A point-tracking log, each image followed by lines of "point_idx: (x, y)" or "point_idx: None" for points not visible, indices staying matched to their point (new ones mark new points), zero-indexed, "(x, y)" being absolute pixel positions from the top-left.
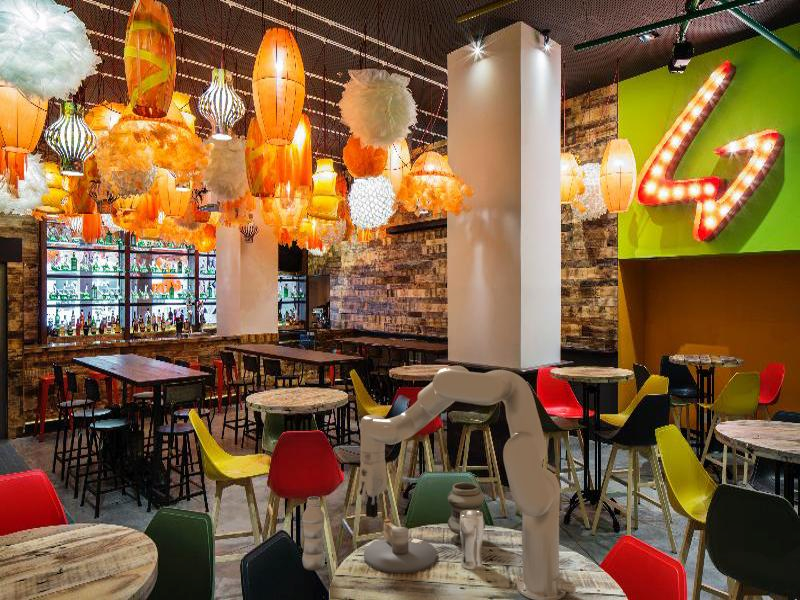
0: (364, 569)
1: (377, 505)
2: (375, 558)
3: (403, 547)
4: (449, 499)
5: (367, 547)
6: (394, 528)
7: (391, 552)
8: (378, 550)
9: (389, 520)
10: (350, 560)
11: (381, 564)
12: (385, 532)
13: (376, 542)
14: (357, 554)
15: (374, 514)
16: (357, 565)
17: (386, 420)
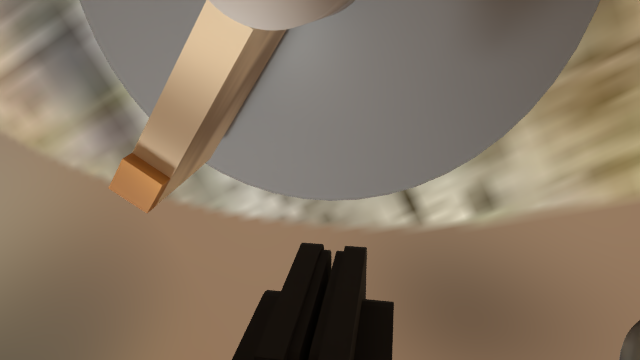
0: (605, 79)
1: (269, 329)
2: (502, 61)
3: None
4: None
5: (357, 192)
6: (262, 17)
7: (357, 6)
8: (368, 108)
9: (128, 160)
10: (502, 216)
11: None
12: (204, 151)
13: (264, 178)
14: (409, 217)
15: (362, 271)
16: (558, 149)
17: None
